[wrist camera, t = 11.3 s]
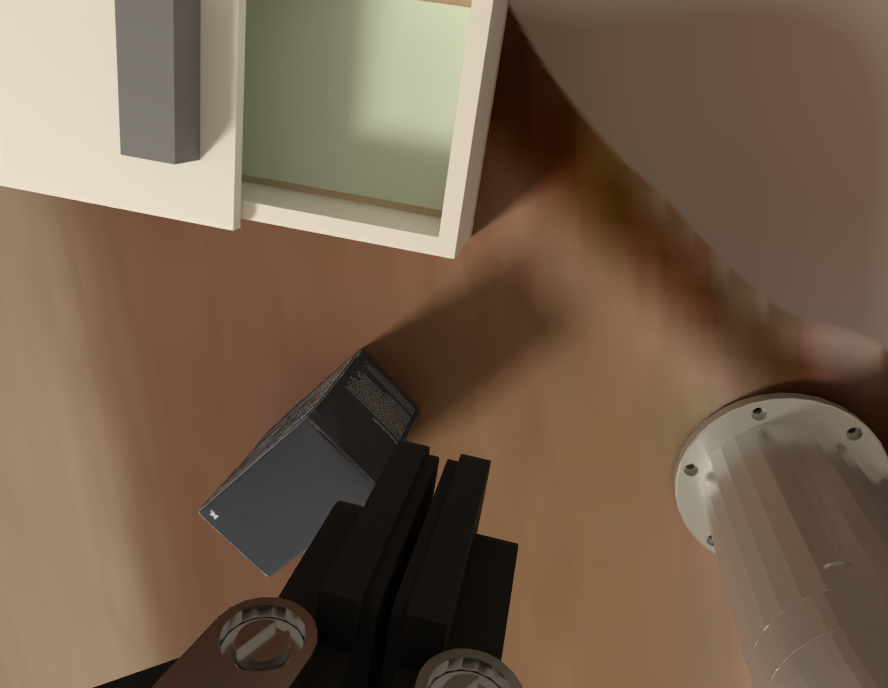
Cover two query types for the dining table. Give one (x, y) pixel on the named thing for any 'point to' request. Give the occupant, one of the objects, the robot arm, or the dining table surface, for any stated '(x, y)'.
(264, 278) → the dining table surface
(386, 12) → the base
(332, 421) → the small box
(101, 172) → the lid
